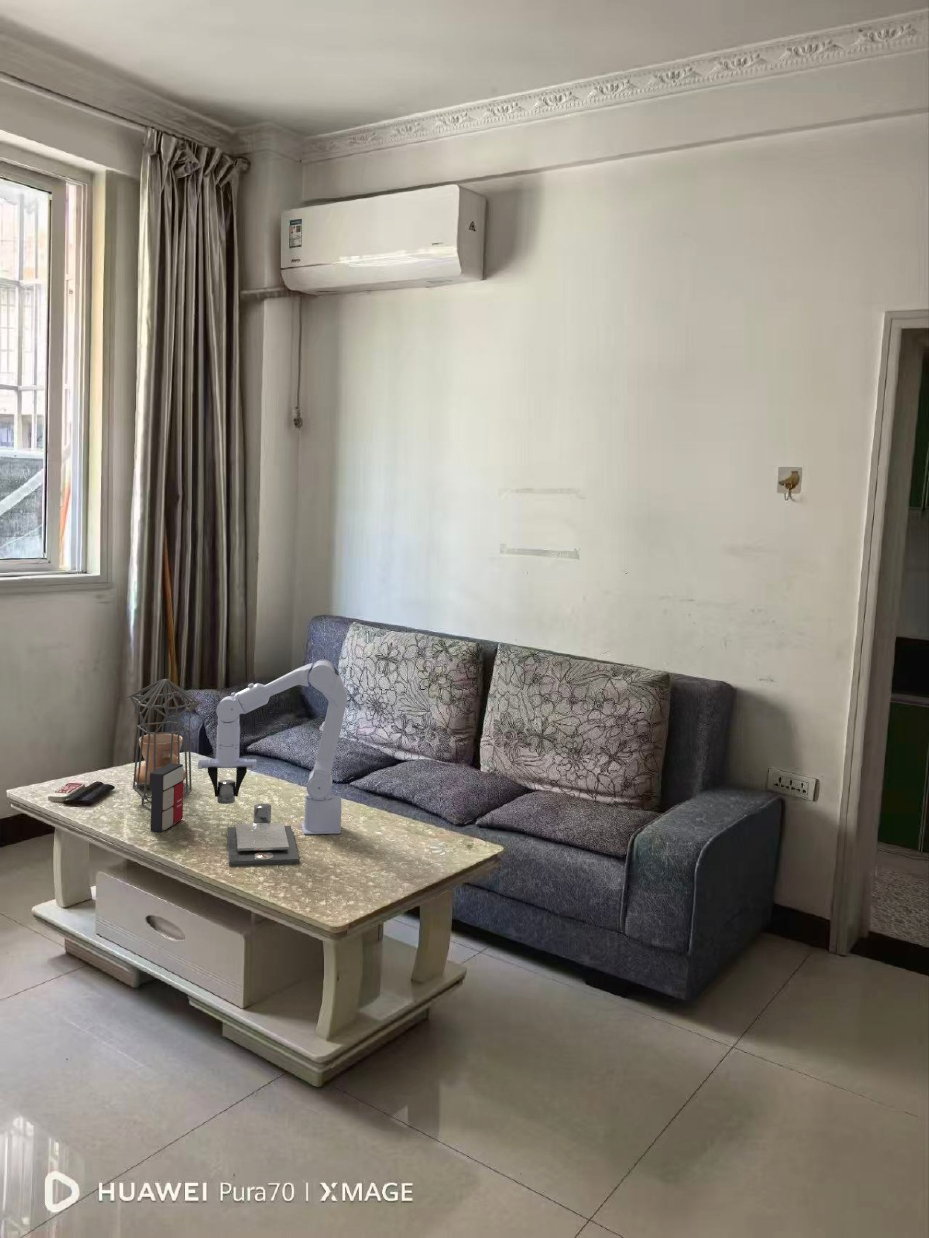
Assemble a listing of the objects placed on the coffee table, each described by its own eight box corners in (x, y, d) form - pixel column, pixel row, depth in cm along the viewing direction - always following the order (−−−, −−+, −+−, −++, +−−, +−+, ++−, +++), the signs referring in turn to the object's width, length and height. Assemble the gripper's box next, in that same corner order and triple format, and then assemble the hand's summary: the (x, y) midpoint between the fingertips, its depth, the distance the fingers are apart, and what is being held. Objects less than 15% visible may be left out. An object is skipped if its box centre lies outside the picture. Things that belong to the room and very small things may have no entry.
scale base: (290, 830, 257) (290, 824, 257) (298, 863, 234) (299, 857, 234) (227, 831, 253) (227, 825, 253) (229, 866, 230) (229, 859, 230)
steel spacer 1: (234, 798, 259) (235, 779, 258) (235, 803, 254) (235, 784, 254) (217, 798, 257) (217, 780, 257) (217, 803, 253) (218, 784, 253)
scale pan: (283, 824, 256) (283, 822, 255) (288, 849, 238) (289, 846, 238) (235, 825, 252) (235, 823, 252) (237, 850, 235) (237, 848, 235)
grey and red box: (163, 833, 249) (165, 774, 248) (147, 830, 250) (149, 772, 248) (184, 820, 260) (186, 764, 258) (169, 818, 261) (170, 762, 259)
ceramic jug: (124, 781, 290) (125, 734, 289) (172, 775, 299) (173, 729, 298) (147, 797, 276) (149, 748, 275) (197, 790, 286) (198, 742, 284)
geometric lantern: (178, 794, 281) (181, 672, 277) (200, 810, 269) (204, 682, 265) (122, 802, 271) (125, 675, 267) (142, 818, 259) (146, 686, 255)
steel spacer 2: (270, 821, 263) (270, 803, 262) (271, 827, 259) (271, 808, 258) (253, 822, 262) (253, 803, 261) (253, 827, 258) (254, 808, 257)
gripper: (256, 739, 260) (254, 790, 261) (198, 740, 256) (197, 791, 258) (257, 746, 253) (255, 798, 255) (198, 746, 249) (197, 799, 251)
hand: (226, 795), depth 256 cm, fingers closed on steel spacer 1, 4 cm apart
